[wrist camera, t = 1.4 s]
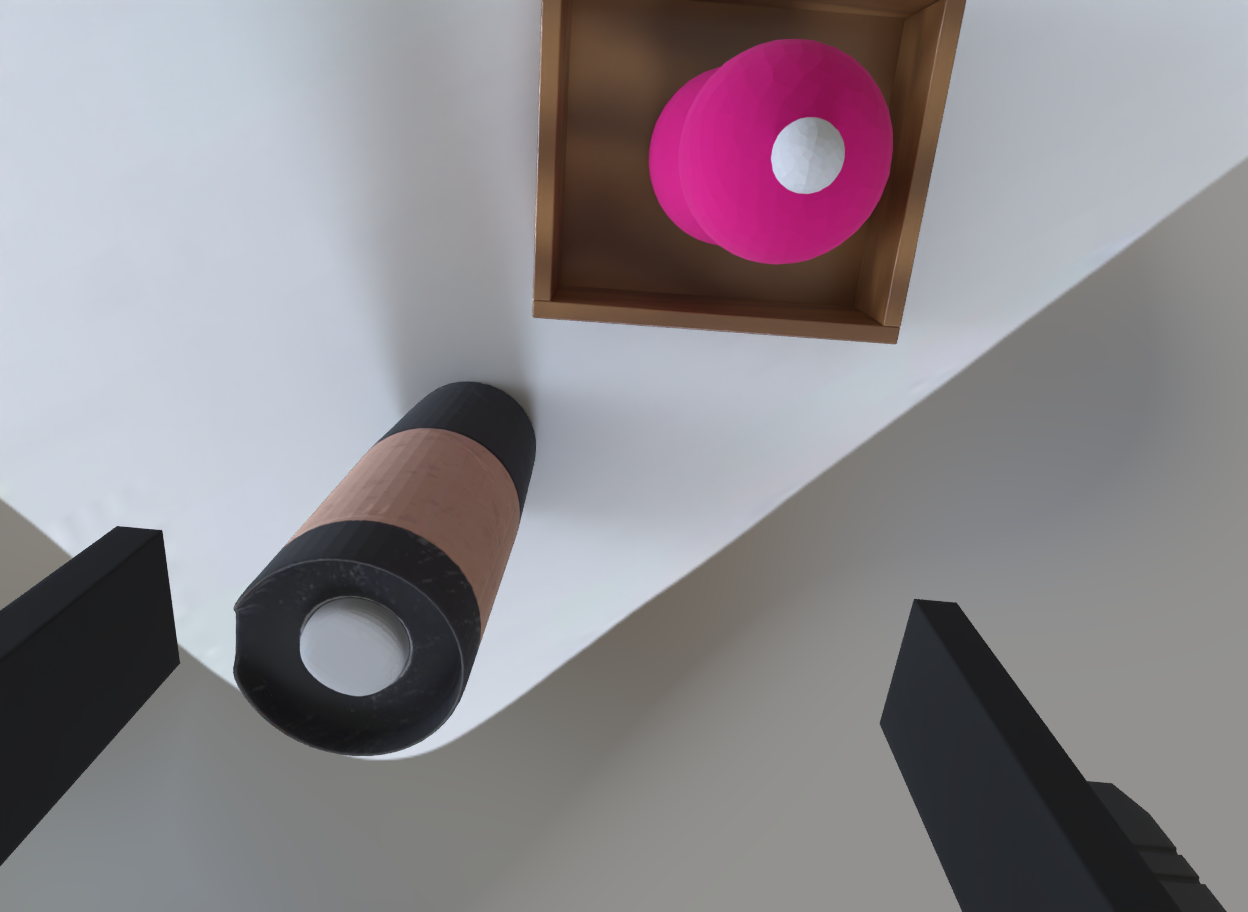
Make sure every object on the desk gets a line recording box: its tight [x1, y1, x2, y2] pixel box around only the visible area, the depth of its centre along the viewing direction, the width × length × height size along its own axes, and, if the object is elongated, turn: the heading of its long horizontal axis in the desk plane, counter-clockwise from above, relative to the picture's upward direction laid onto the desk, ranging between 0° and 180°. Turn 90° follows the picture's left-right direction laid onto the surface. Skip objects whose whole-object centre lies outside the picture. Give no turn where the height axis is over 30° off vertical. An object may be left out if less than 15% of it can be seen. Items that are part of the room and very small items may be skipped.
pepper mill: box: [649, 39, 893, 265], centre depth 28 cm, size 7×7×20 cm
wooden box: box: [532, 0, 966, 344], centre depth 35 cm, size 15×17×5 cm
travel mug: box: [233, 382, 536, 756], centre depth 33 cm, size 8×8×20 cm
